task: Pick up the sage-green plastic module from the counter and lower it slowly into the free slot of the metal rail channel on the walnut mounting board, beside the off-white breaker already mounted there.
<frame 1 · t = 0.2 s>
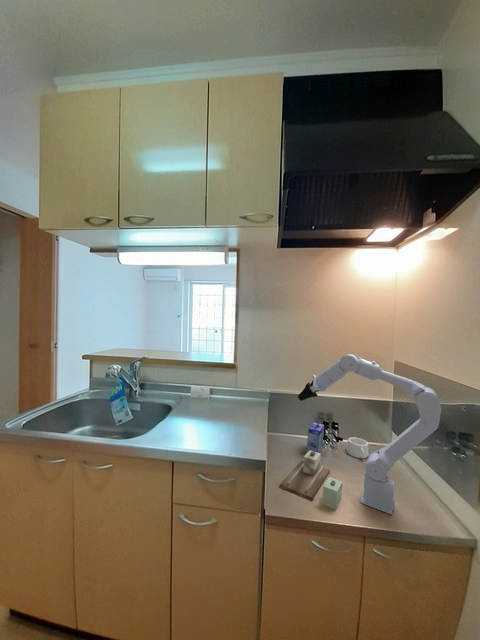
hand: (302, 396, 109), 31 cm above the worktop, tool tilted 45°, fingers open, 7 cm apart
ink cartridge box: (314, 452, 128), on the worktop
rail board: (306, 479, 106), on the worktop
mug: (358, 455, 128), on the worktop
module: (331, 501, 94), on the worktop
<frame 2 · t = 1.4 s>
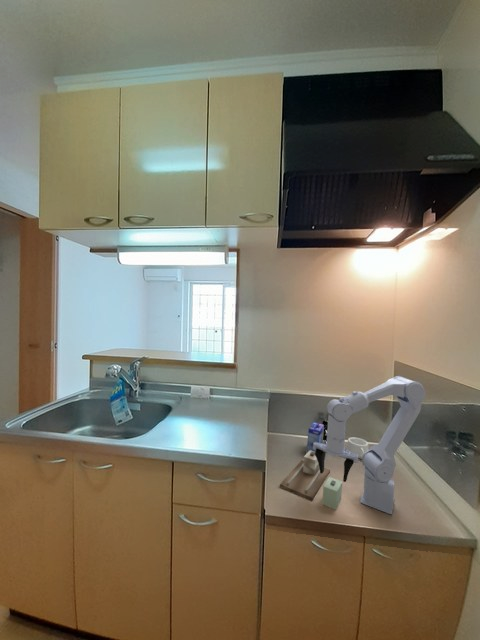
hand: (333, 476, 94), 8 cm above the worktop, tool pointing down, fingers open, 7 cm apart
nothing on the worktop moved.
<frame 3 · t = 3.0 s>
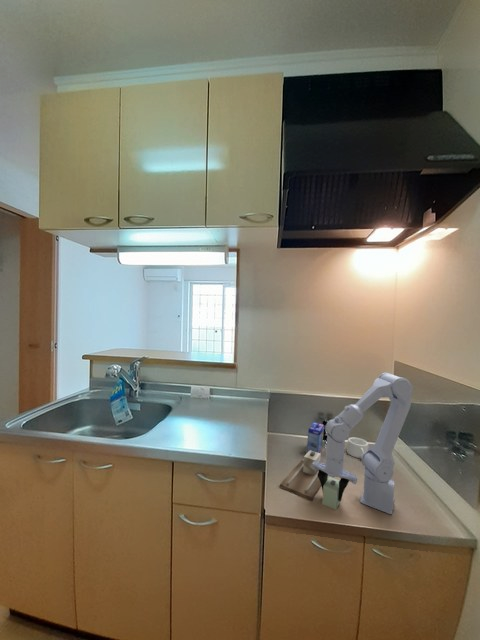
hand: (332, 496, 94), 2 cm above the worktop, tool pointing down, fingers closed on module, 4 cm apart
module: (331, 501, 94), on the worktop, touching gripper
everything else where it was.
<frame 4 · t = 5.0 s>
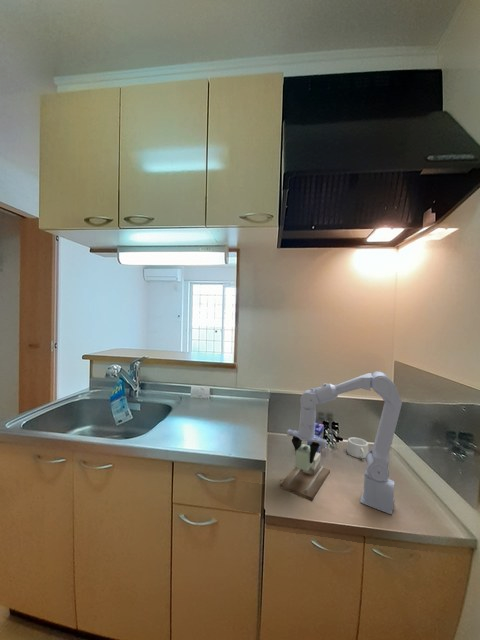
hand: (304, 459, 103), 9 cm above the worktop, tool pointing down, fingers closed on module, 4 cm apart
module: (304, 464, 103), point 7 cm above the worktop, touching gripper
everything else where it was.
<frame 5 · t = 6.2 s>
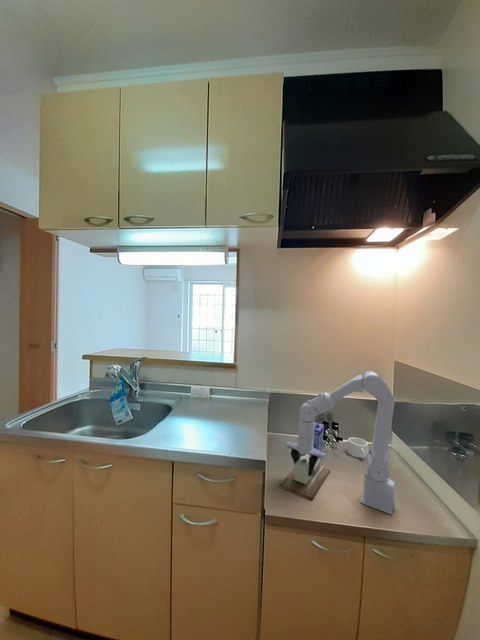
hand: (303, 472, 103), 4 cm above the worktop, tool pointing down, fingers closed on module, 4 cm apart
module: (303, 477, 103), point 2 cm above the worktop, touching gripper
everything else where it was.
when the fingers open (4 cm above the worktop, at t = 7.0 s): module drops 1 cm, resting on rail board.
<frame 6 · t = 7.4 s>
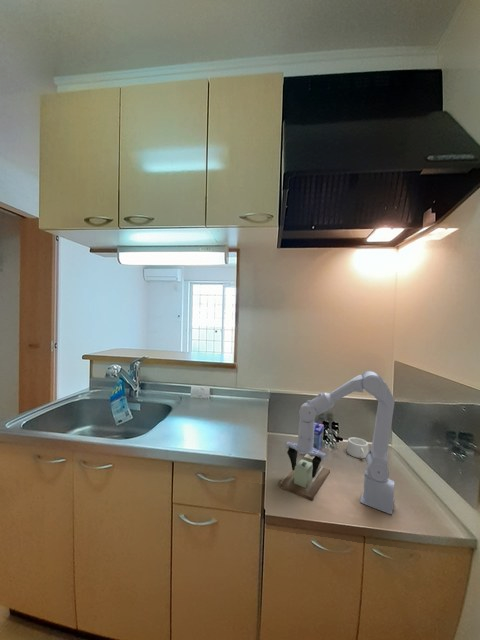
hand: (303, 472, 103), 4 cm above the worktop, tool pointing down, fingers open, 7 cm apart
module: (303, 480, 103), point 1 cm above the worktop, touching rail board
everything else where it was.
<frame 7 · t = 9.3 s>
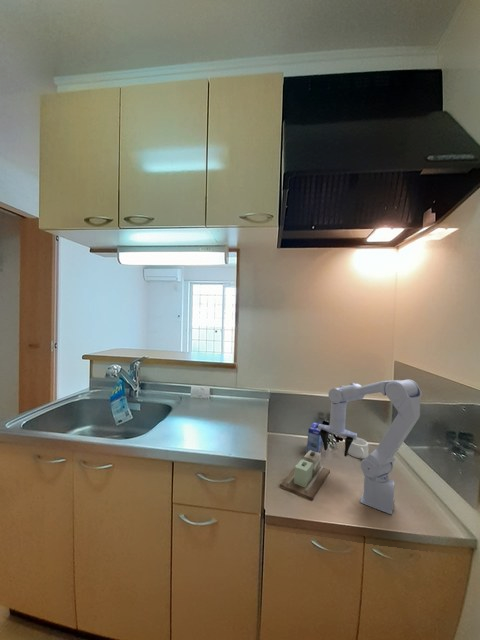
hand: (335, 452, 109), 9 cm above the worktop, tool pointing down, fingers open, 7 cm apart
nothing on the worktop moved.
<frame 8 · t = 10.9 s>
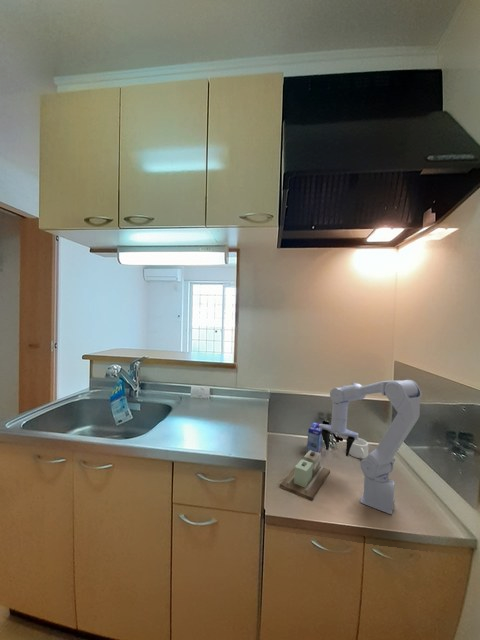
hand: (337, 452, 110), 9 cm above the worktop, tool pointing down, fingers open, 7 cm apart
nothing on the worktop moved.
at the end: module 0.1 cm from the target spot on the rail board, point 1.0 cm above the rail board's base; module tilted 0°; the gripper is holding nothing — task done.
